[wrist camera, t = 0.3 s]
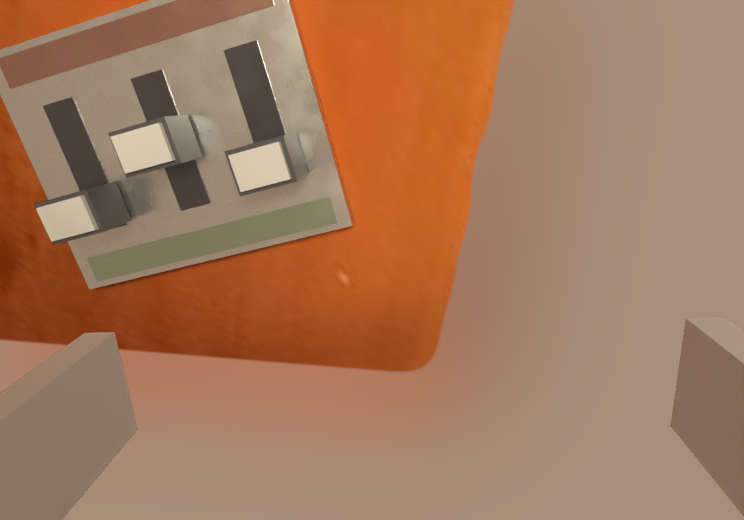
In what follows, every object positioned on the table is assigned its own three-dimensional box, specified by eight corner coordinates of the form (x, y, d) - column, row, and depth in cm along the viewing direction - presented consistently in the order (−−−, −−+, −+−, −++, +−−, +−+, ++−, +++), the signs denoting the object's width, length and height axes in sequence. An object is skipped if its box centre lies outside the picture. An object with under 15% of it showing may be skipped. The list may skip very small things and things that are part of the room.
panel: (-1, 57, 36) (-19, 55, 34) (282, -36, 33) (276, -43, 31) (100, 282, 41) (88, 290, 39) (354, 221, 38) (352, 226, 36)
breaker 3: (241, 146, 35) (222, 152, 31) (295, 131, 34) (281, 135, 30) (255, 187, 36) (237, 197, 32) (308, 173, 35) (296, 182, 31)
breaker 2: (136, 129, 35) (103, 133, 31) (187, 114, 34) (161, 116, 31) (152, 171, 36) (122, 179, 32) (202, 157, 35) (178, 163, 32)
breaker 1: (67, 194, 37) (29, 205, 33) (115, 181, 36) (82, 190, 33) (84, 232, 38) (49, 246, 34) (131, 220, 37) (100, 233, 33)
